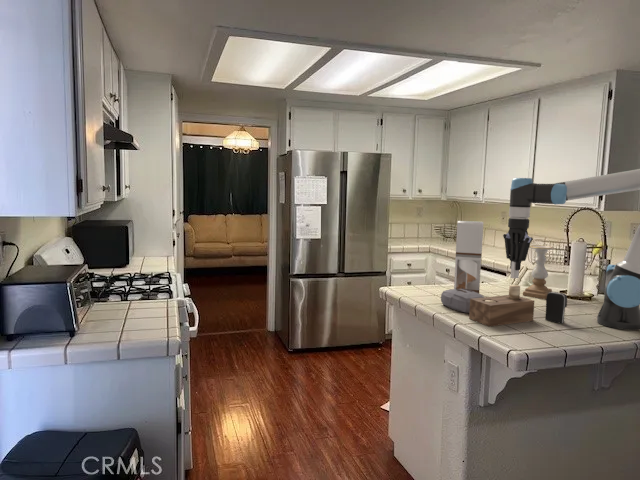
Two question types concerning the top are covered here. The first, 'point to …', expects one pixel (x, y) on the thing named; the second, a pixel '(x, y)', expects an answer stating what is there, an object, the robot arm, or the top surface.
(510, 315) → the collar block
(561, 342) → the top surface
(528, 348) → the top surface
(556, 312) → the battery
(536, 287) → the candle holder
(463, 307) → the soft grey pack
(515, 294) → the inner peg
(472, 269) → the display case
